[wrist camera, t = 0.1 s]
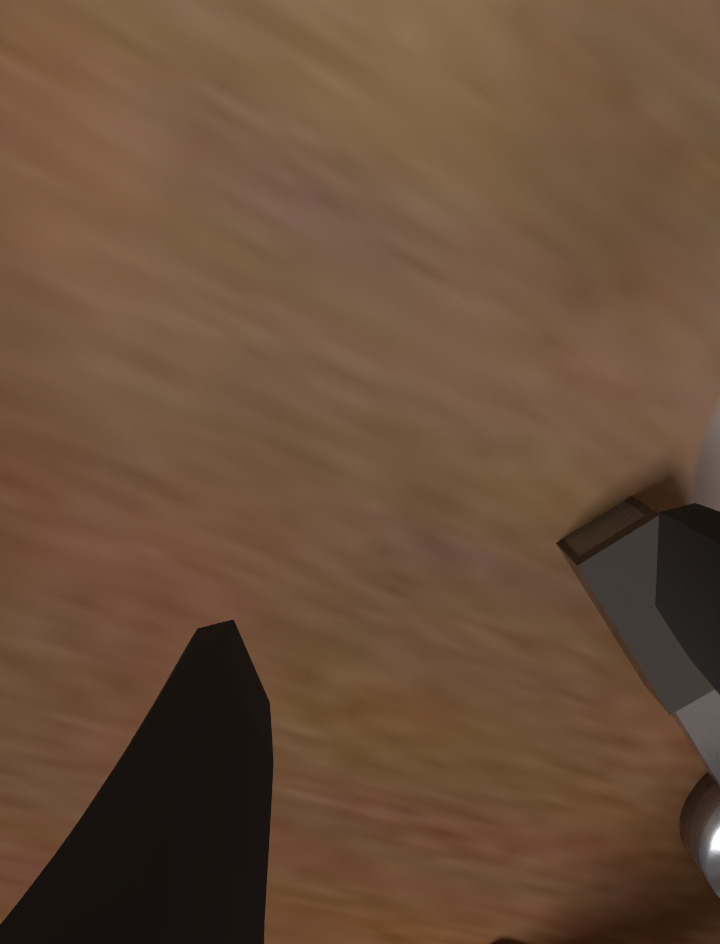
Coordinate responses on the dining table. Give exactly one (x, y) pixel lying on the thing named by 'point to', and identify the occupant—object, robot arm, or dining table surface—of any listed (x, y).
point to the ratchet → (654, 654)
